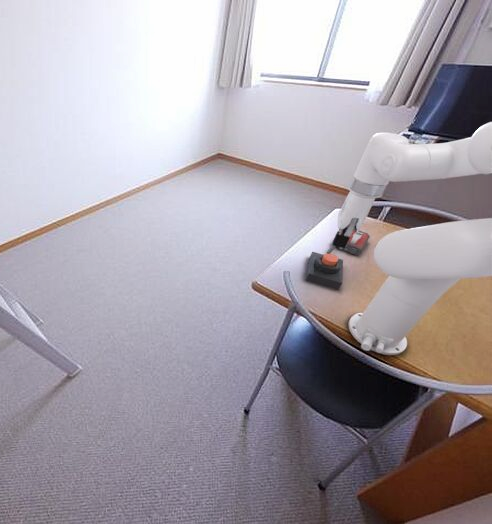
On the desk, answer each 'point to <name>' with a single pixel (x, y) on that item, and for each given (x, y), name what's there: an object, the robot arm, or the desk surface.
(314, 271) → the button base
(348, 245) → the walkie-talkie
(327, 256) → the pump button
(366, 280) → the desk surface
